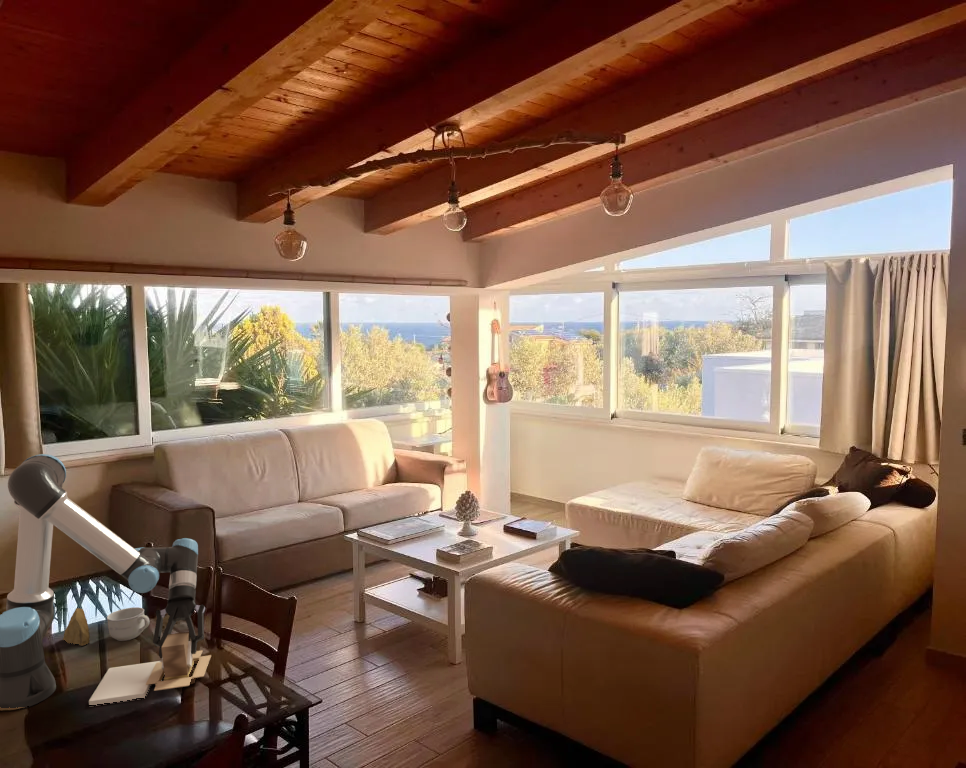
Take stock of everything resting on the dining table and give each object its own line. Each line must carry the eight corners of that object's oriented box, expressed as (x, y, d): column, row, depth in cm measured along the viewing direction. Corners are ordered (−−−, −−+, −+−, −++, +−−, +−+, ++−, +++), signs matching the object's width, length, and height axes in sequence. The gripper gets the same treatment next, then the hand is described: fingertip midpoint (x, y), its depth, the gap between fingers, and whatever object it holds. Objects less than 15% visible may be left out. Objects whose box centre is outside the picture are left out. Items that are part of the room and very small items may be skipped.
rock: (98, 636, 235) (99, 620, 244) (77, 621, 231) (78, 605, 240) (70, 661, 233) (72, 644, 242) (48, 646, 229) (50, 629, 238)
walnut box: (164, 685, 207) (160, 647, 206) (171, 670, 215) (167, 634, 214) (189, 681, 208) (184, 644, 207) (194, 666, 217) (190, 631, 215)
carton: (142, 698, 201) (141, 691, 200) (160, 662, 220) (159, 656, 220) (201, 690, 203) (200, 683, 203) (214, 655, 223) (213, 648, 223)
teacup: (102, 641, 237) (99, 617, 236) (132, 626, 246) (129, 603, 245) (131, 648, 230) (128, 624, 229) (160, 633, 240) (158, 609, 239)
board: (89, 706, 198) (88, 701, 198) (109, 672, 216) (109, 667, 216) (145, 698, 201) (144, 693, 201) (160, 665, 218) (160, 660, 218)
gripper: (217, 590, 227) (214, 666, 213) (152, 598, 224) (144, 676, 210) (213, 580, 221) (209, 658, 207) (145, 588, 218) (137, 668, 204)
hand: (176, 667), depth 209 cm, fingers closed on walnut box, 6 cm apart
